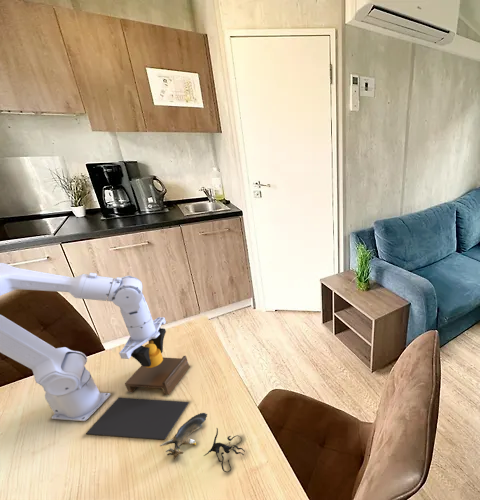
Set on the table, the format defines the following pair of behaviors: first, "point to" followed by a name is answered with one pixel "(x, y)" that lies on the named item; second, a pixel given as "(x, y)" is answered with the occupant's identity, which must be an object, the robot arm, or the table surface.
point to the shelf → (159, 375)
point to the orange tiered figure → (154, 354)
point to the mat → (139, 418)
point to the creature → (217, 448)
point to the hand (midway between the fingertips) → (152, 358)
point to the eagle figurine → (185, 434)
